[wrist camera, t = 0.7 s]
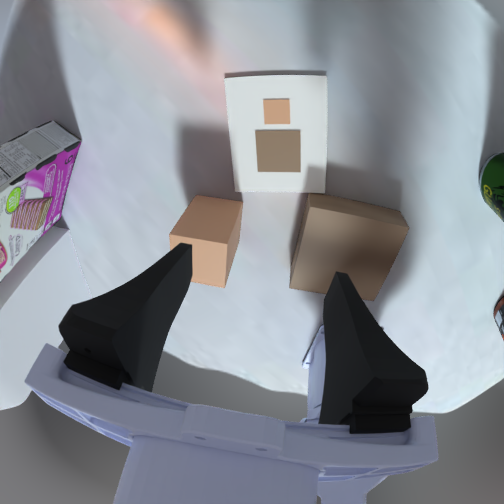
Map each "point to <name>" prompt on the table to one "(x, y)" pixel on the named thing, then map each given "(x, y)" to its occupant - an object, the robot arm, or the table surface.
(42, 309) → the milk
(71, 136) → the candy bar box
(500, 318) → the supplement bottle
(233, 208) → the terracotta block
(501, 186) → the beer can
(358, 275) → the walnut slab
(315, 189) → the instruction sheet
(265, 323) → the table surface
